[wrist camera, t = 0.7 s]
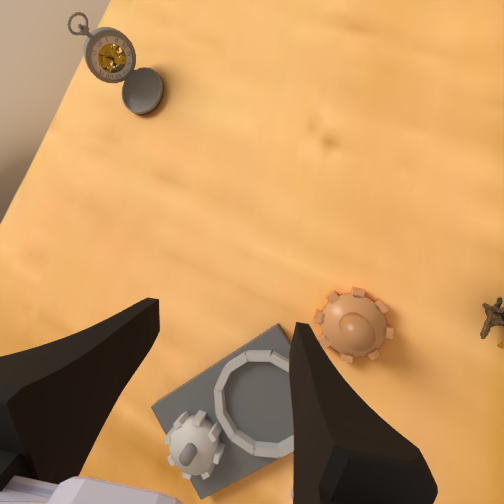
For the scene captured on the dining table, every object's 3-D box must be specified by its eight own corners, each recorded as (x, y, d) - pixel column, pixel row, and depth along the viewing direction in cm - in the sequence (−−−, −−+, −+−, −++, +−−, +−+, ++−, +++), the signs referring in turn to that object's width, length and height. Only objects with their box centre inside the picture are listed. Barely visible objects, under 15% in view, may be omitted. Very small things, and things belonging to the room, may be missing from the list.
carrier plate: (340, 416, 30) (345, 446, 25) (205, 489, 34) (187, 527, 29) (278, 323, 32) (272, 334, 27) (157, 401, 36) (133, 423, 31)
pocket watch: (157, 119, 37) (103, 70, 28) (112, 110, 39) (46, 61, 30) (173, 64, 37) (123, -5, 27) (126, 58, 39) (64, -9, 29)
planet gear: (405, 334, 29) (426, 351, 24) (342, 371, 30) (348, 394, 25) (359, 273, 30) (369, 276, 25) (301, 311, 32) (298, 321, 26)
